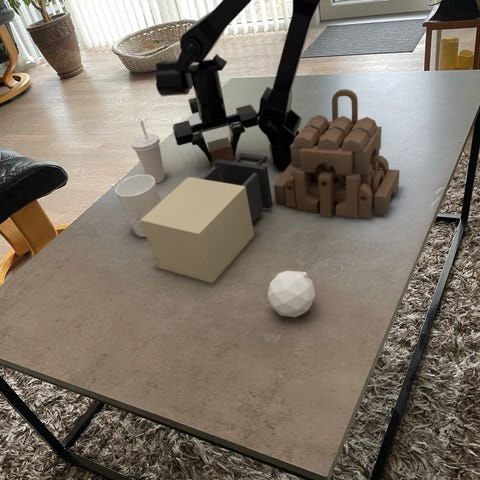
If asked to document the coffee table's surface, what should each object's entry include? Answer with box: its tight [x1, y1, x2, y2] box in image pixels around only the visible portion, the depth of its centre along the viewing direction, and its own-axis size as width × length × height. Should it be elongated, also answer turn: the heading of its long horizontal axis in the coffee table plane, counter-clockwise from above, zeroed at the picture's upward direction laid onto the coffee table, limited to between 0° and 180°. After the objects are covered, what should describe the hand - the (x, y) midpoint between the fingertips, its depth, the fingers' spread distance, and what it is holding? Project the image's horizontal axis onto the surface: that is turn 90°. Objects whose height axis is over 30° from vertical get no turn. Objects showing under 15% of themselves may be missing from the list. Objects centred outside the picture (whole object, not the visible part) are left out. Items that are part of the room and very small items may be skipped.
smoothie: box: [131, 120, 166, 184], centre depth 110 cm, size 6×6×14 cm
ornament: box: [267, 270, 316, 318], centre depth 74 cm, size 7×7×8 cm
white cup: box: [114, 173, 162, 238], centre depth 97 cm, size 8×8×10 cm
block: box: [206, 136, 235, 168], centre depth 113 cm, size 5×5×5 cm
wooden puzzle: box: [273, 88, 401, 220], centre depth 91 cm, size 22×15×19 cm, turn 63°
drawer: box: [200, 152, 274, 224], centre depth 94 cm, size 18×11×9 cm, turn 148°
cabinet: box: [140, 176, 255, 284], centre depth 88 cm, size 15×13×11 cm
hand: (222, 160), depth 114 cm, fingers closed on block, 5 cm apart
